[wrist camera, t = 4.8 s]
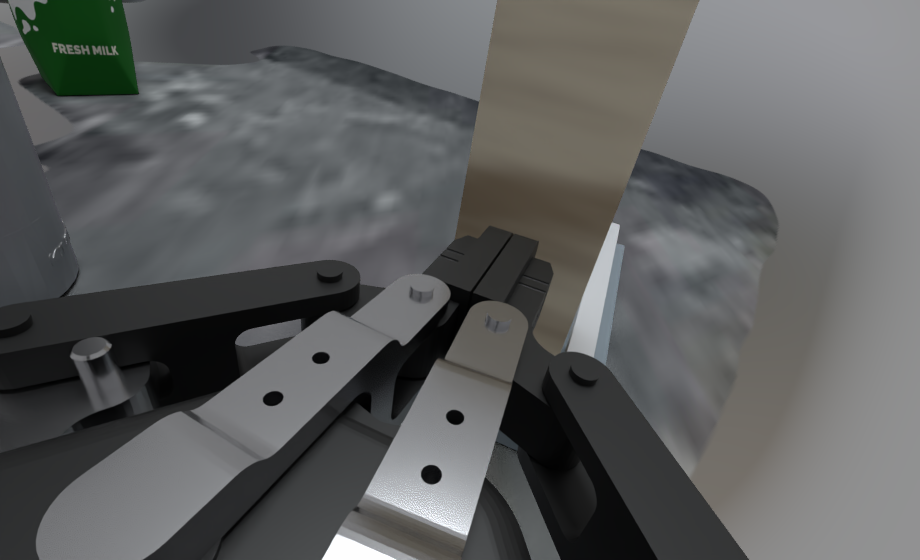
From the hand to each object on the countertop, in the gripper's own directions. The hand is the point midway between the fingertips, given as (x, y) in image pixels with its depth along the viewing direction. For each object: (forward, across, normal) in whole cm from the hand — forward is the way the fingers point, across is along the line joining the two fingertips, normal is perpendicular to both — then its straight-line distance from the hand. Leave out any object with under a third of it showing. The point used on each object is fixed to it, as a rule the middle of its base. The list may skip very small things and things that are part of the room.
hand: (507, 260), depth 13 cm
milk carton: (+22, +53, +9) cm, 58 cm away
